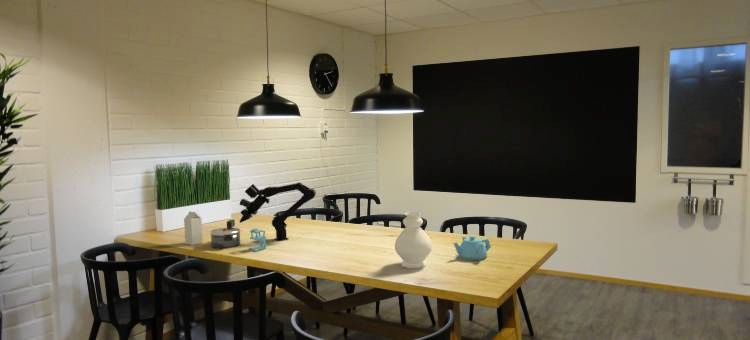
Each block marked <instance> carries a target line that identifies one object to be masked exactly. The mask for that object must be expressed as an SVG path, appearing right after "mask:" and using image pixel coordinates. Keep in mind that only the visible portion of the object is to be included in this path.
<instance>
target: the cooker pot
mask: <svg viewBox="0 0 750 340" xmlns="http://www.w3.org/2000/svg"><path fill="white" fill-rule="evenodd" d="M240 233H241V232H240ZM240 233H238V234H235V235H229V236H212V235H210V239H211V240H210V241H211V243H210V244H211V248H212V249H217V250H219V249H220V250H222V249H223V250H224V249H232V248H237V247H240V246H241V234H240Z"/></svg>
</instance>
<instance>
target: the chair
mask: <svg viewBox="0 0 750 340" xmlns="http://www.w3.org/2000/svg"><path fill="white" fill-rule="evenodd" d="M253 233H254V234H255V236H254V235H253ZM261 233H263V234H262V235H261ZM250 234H251V236H250V237H249V239H250V240H254V241H257V242H258V244H259V245H260V246H254V247H248V250H249V251H251V252H254V253H257V252H260V251H265V250H267V245H266V239H267V236H265V234H266V230H262V229H258V228H252V229H251V230H250Z"/></svg>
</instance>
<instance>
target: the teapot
mask: <svg viewBox="0 0 750 340" xmlns="http://www.w3.org/2000/svg"><path fill="white" fill-rule="evenodd" d="M453 245H454V248H455V250H456V253H457V254H458V256H459V257H460V258H461V259H462V260H466V261H481V260H483V259H485V258H486V257H487V256H488V255H487V252H488V251H490V250H489V249H491V244H490V240H489V238H488V237H485V238H482V239H481V238H478V237H476V236H475V235H469V237H467V236H462V242H461V243H460V245H459V244H458V242H454V243H453Z"/></svg>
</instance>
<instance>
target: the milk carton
mask: <svg viewBox="0 0 750 340" xmlns="http://www.w3.org/2000/svg"><path fill="white" fill-rule="evenodd" d="M202 223H203V222H202V217H201V216H199V214H198V213H197V212H196V211H188V213H187V215H186V216H185V217H184V220H183V224H184V226H183V227H184V239H185V244H186V245H189V246H194V245H199V244H203V243H204V241H203V224H202Z"/></svg>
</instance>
